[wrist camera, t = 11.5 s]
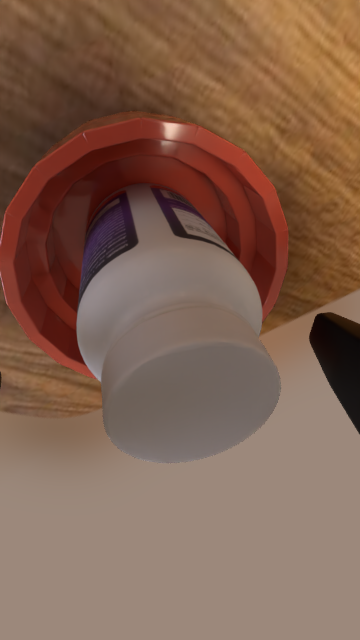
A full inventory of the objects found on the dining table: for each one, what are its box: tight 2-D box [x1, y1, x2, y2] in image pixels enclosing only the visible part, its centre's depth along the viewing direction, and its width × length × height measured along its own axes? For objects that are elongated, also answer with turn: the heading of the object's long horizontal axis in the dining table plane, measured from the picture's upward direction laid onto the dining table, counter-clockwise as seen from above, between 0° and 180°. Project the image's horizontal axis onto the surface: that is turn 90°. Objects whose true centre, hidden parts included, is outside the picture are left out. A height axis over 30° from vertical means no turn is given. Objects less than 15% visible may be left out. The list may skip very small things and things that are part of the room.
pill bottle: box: [76, 183, 281, 463], centre depth 11 cm, size 5×5×10 cm
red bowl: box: [0, 111, 288, 379], centre depth 13 cm, size 10×10×4 cm
